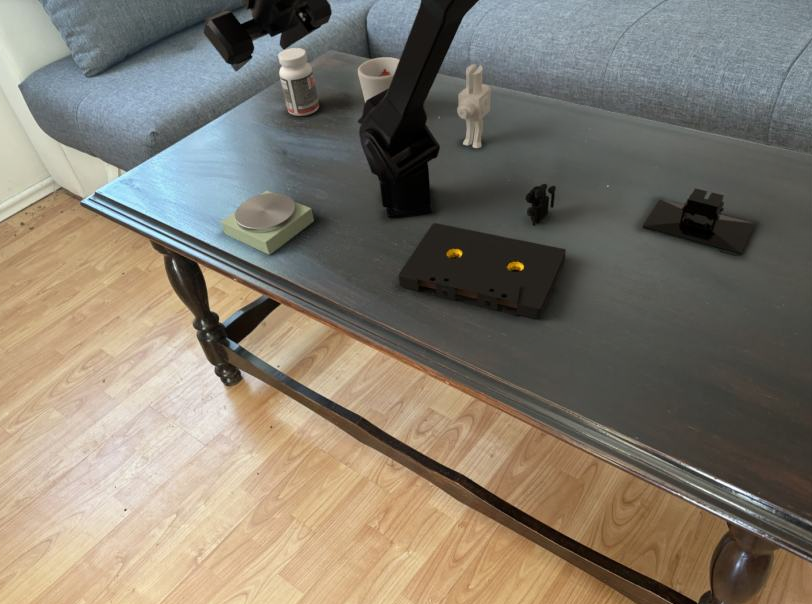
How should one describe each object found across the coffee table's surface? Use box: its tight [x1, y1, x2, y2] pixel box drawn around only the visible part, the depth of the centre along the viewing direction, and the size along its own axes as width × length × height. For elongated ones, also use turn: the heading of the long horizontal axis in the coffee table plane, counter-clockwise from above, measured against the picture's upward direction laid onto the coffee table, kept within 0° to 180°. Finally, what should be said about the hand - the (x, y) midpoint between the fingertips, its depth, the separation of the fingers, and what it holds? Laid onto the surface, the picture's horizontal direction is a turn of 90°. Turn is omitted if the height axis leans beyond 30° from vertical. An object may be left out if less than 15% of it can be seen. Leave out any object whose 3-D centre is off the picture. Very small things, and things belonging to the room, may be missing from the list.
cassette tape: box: [398, 222, 567, 320], centre depth 82 cm, size 18×12×2 cm, turn 66°
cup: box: [357, 56, 400, 104], centre depth 111 cm, size 11×8×8 cm
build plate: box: [641, 188, 756, 256], centre depth 84 cm, size 12×7×5 cm, turn 57°
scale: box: [220, 190, 315, 256], centre depth 92 cm, size 9×9×3 cm
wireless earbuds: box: [525, 183, 557, 227], centre depth 88 cm, size 7×2×5 cm, turn 142°
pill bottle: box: [278, 47, 320, 117], centre depth 114 cm, size 6×6×10 cm
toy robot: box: [456, 63, 492, 149], centre depth 101 cm, size 4×8×12 cm, turn 147°
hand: (258, 57), depth 100 cm, fingers open, 9 cm apart
